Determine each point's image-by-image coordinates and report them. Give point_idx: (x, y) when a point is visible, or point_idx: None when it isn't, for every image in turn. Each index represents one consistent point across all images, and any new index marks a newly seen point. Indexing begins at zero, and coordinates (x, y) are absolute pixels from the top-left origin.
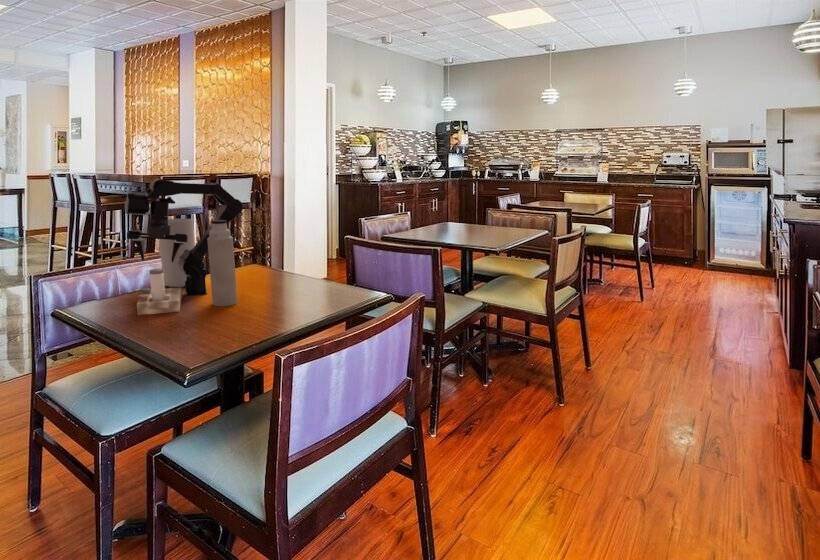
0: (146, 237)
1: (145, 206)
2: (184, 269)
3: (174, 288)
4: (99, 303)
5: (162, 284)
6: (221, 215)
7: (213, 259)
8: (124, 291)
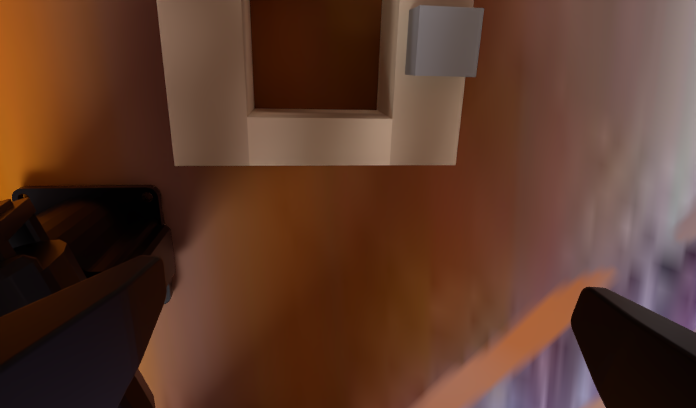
0: None
1: None
2: (53, 253)
3: (225, 150)
4: (660, 162)
5: None
6: None
7: None
8: (523, 399)
